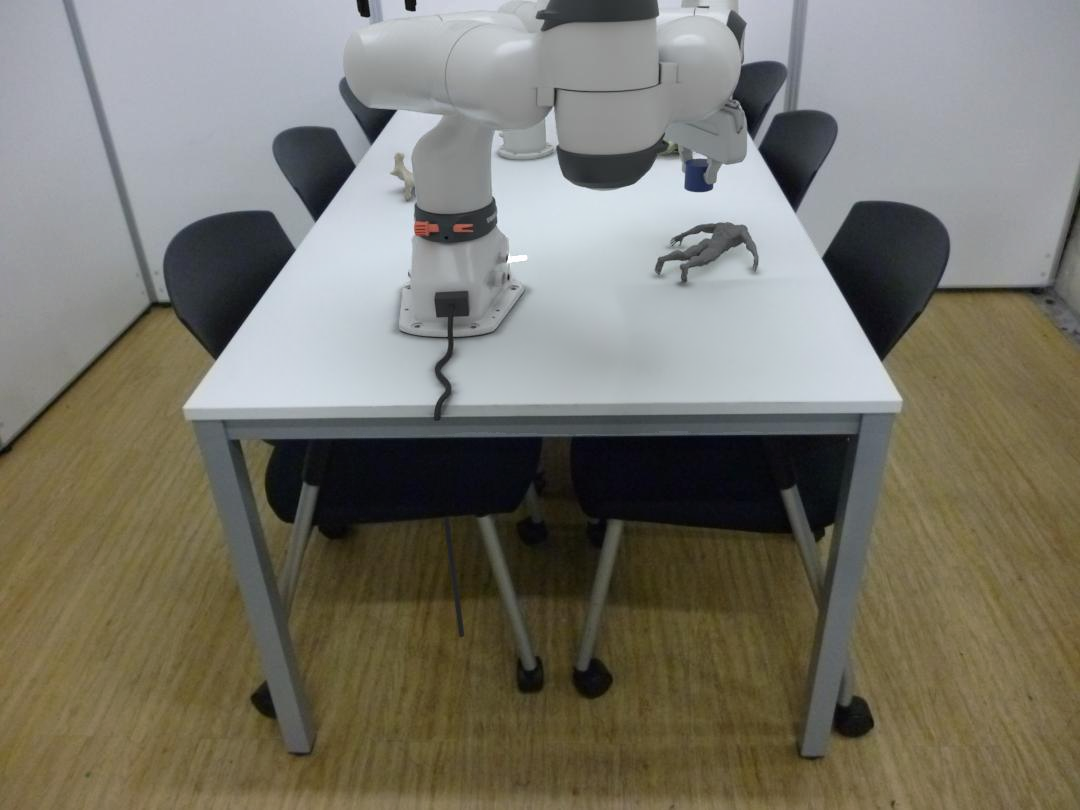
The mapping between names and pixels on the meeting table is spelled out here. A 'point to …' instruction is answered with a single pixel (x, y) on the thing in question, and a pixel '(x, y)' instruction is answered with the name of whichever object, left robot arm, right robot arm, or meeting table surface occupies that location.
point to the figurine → (709, 246)
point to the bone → (403, 174)
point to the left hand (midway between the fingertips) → (698, 177)
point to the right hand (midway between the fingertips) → (388, 13)
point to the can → (696, 176)
